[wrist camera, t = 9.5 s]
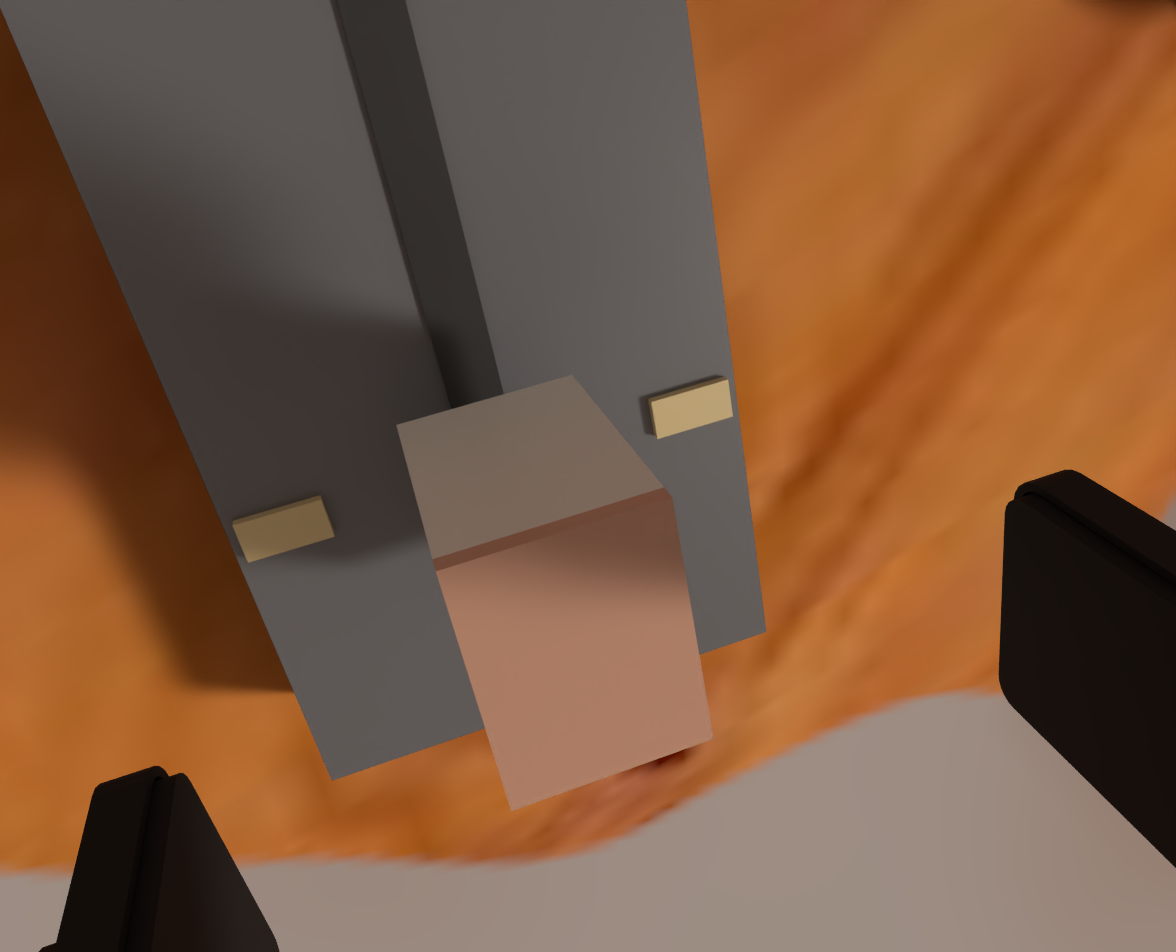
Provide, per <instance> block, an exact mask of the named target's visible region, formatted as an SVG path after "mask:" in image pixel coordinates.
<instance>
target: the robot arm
mask: <svg viewBox="0 0 1176 952" xmlns="http://www.w3.org/2000/svg"><path fill="white" fill-rule="evenodd" d="M999 682H1000V685H1001V689H1002V691H1003V693H1004V695H1005V697H1006V699H1007V700H1008V702H1009V703H1010V704H1011V706H1012V707H1013V708H1014V709H1015V710H1016V711H1017V712H1018V713H1019V714H1020V715H1021V716H1022V717H1023V718H1024V719H1025V720H1026V721H1027V722H1028V723H1029V724H1030V725H1031V726H1032V727H1033V728H1034V729H1035V730H1036V731H1037V732H1038V733H1039V734H1040V735H1041V736H1042V737H1044V739H1045V740H1047V741H1048V742H1049V743H1050V744H1051V745H1052V746H1053V747H1054V748H1055V749H1056V750H1057V751H1058V752H1059V753H1060V754H1061V755H1062V756H1063V757H1064V758H1065V759H1066V760H1067V761H1068V762H1069V763H1070V764H1071V765H1072V766H1073V767H1074V768H1075V769H1076V770H1077V771H1078V772H1079V773H1080V774H1081V775H1082V776H1083V777H1084V778H1085V779H1086V780H1087V781H1088V782H1089V783H1090V784H1091V785H1092V786H1093V787H1094V788H1095V789H1096V790H1097V791H1099V793H1100V794H1101V795H1102V796H1103V797H1104V798H1105V799H1106V800H1107V801H1108V802H1109V803H1111V805H1113V806H1114V807H1115V808H1116V809H1117V810H1118V811H1119V812H1120V813H1121V814H1122V815H1123V816H1124V817H1125V818H1126V819H1127V820H1128V821H1129V822H1130V823H1131V824H1132V825H1133V826H1134V827H1135V828H1136V829H1137V830H1138V831H1139V832H1140V833H1141V834H1142V835H1143V836H1144V837H1145V838H1146V839H1147V840H1148V841H1149V842H1150V843H1151V844H1152V845H1153V846H1154V847H1155V848H1156V849H1157V850H1158V851H1159V852H1160V853H1161V854H1162V855H1163V856H1164V857H1165V858H1166V859H1167V860H1168V861H1169V862H1170V863H1171V864H1172V865H1173V866H1174V867H1175V868H1176V531H1175V530H1174V529H1172V528H1170V527H1169V526H1167V525H1165V524H1164V523H1162V522H1160V521H1159V520H1157V519H1155V518H1154V517H1152V516H1150V515H1149V514H1147V513H1146V512H1144V511H1142V510H1141V509H1139V508H1137V507H1136V506H1134V505H1132V504H1131V503H1129V502H1127V501H1126V500H1124V499H1122V498H1121V497H1119V496H1117V495H1116V494H1114V493H1112V492H1111V491H1109V490H1107V489H1106V488H1104V487H1103V486H1101V485H1099V484H1098V483H1096V482H1094V481H1093V480H1091V479H1089V478H1088V477H1086V476H1084V475H1083V474H1081V473H1079V472H1076V471H1074V470H1063V471H1060V472H1057V473H1054V474H1050V475H1047V476H1044V477H1041V478H1038V479H1035V480H1032V481H1029V482H1026V483H1024V484H1022V485H1020V486H1019V487H1018V489H1017V490H1016V492H1015V496H1014V500H1012V501H1010V502H1009V503H1008V505H1007V506H1006V510H1005V524H1004V550H1003V576H1002V602H1001V629H1000V655H999ZM39 952H279V948H278V945H277V942H276V939H275V937H274V935H273V933H272V931H271V929H270V927H269V925H268V924H267V922H266V920H265V918H264V916H263V914H262V913H261V911H260V909H259V907H258V905H257V903H256V901H255V900H254V898H253V896H252V894H251V892H250V891H249V889H248V887H247V885H246V883H245V881H244V879H243V877H242V876H241V874H240V872H239V870H238V868H237V866H236V865H235V863H234V861H233V859H232V857H231V855H230V853H229V852H228V850H227V848H226V846H225V844H224V842H223V841H222V839H221V837H220V835H219V833H218V831H217V829H216V828H215V826H214V824H213V822H212V820H211V818H210V817H209V815H208V813H207V811H206V809H205V807H204V805H203V804H202V802H201V800H200V798H199V796H198V794H197V793H196V791H195V789H194V787H193V785H192V783H191V782H190V780H189V779H188V777H187V776H186V775H185V774H184V773H179V774H175V775H172V776H168V774H167V773H166V771H165V770H164V769H163V768H161V767H160V766H153V767H150V768H147V769H144V770H141V771H138V772H135V773H132V774H128V775H125V776H122V777H119V778H116V779H113V780H110V781H107V782H104V783H101V784H99V785H98V786H97V787H96V788H95V790H94V793H93V795H92V799H91V803H90V807H89V811H88V815H87V819H86V823H85V827H84V831H83V835H82V839H81V843H80V847H79V852H78V856H77V860H76V864H75V868H74V872H73V876H72V880H71V884H70V888H69V893H68V896H67V901H66V905H65V909H64V913H63V917H62V921H61V925H60V929H59V933H58V937H57V941H56V943H54V944H51V945H48V946H46V947H43V948H42V949H41V950H40V951H39Z"/></svg>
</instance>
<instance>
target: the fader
mask: <svg viewBox="0 0 1176 952" xmlns="http://www.w3.org/2000/svg"><path fill="white" fill-rule="evenodd" d="M396 426H397V430H398V433H399V437H400V441H401V445H402V448H403V452H404V456H405V459H406V463H407V467H408V471H409V474H410V478H411V482H412V485H413V489H414V493H415V497H416V500H417V504H418V508H419V511H420V515H421V519H422V523H423V526H424V530H425V534H426V538H427V541H428V545H429V549H430V552H431V556H432V560H433V564H434V567H435V571H436V574H437V577H438V581H439V584H440V587H441V590H442V593H443V596H444V600H445V603H446V606H447V609H448V612H449V615H450V619H451V622H452V625H453V628H454V631H455V634H456V638H457V641H458V644H459V647H460V650H461V653H462V656H463V660H464V663H465V666H466V669H467V672H468V675H469V679H470V682H471V685H472V688H473V691H474V694H475V698H476V701H477V704H478V707H479V710H480V713H481V717H482V720H483V723H484V726H485V729H486V732H487V736H488V739H489V742H490V745H491V748H492V751H493V755H494V758H495V761H496V764H497V767H498V770H499V774H500V777H501V780H502V783H503V786H504V789H505V793H506V796H507V799H508V802H509V805H510V808H511V811H513V810H516V809H519V808H522V807H525V806H527V805H530V804H533V803H536V802H539V801H541V800H544V799H547V798H550V797H552V796H555V795H558V794H561V793H564V792H566V791H569V790H572V789H575V788H578V787H580V786H583V785H586V784H589V783H591V782H594V781H597V780H600V779H603V778H605V777H608V776H611V775H614V774H617V773H619V772H622V771H625V770H628V769H630V768H633V767H636V766H639V765H642V764H644V763H647V762H650V761H653V760H656V759H658V758H661V757H664V756H667V755H670V754H672V753H675V752H678V751H681V750H683V749H686V748H689V747H692V746H695V745H697V744H700V743H703V742H706V741H709V740H711V739H713V733H712V727H711V721H710V715H709V709H708V703H707V697H706V692H705V686H704V680H703V674H702V668H701V662H700V656H699V650H698V644H697V639H696V633H695V627H694V621H693V615H692V609H691V603H690V597H689V592H688V586H687V580H686V574H685V568H684V562H683V556H682V550H681V545H680V539H679V533H678V527H677V521H676V515H675V509H674V503H673V498H672V496H671V495H670V494H669V493H668V491H667V490H666V489H665V488H664V486H663V485H662V484H661V483H660V482H659V480H658V479H657V478H656V477H655V475H654V474H653V473H652V472H651V470H650V469H649V468H648V467H647V466H646V464H645V463H644V462H643V461H642V459H641V458H640V457H639V456H638V455H637V453H636V452H635V451H634V450H633V448H632V447H631V446H630V445H629V444H628V442H627V441H626V440H625V439H624V437H623V436H622V435H621V434H620V433H619V431H618V430H617V429H616V428H615V426H614V425H613V424H612V423H611V422H610V420H609V419H608V418H607V417H606V415H605V414H604V413H603V412H602V411H601V409H600V408H599V407H598V406H597V404H596V403H595V402H594V401H593V400H592V398H591V397H590V396H589V395H588V393H587V392H586V391H585V390H584V389H583V387H582V386H581V385H580V384H579V382H578V381H577V380H576V379H575V378H574V376H573V375H569V376H566V377H562V378H559V379H555V380H552V381H548V382H545V383H541V384H538V385H534V386H531V387H527V388H524V389H520V390H517V391H513V392H510V393H506V394H503V395H499V396H496V397H492V398H489V399H485V400H482V401H478V402H475V403H471V404H468V405H464V406H461V407H457V408H454V409H450V410H447V411H444V412H440V413H437V414H433V415H430V416H426V417H423V418H419V419H416V420H412V421H409V422H405V423H402V424H398V425H396Z"/></svg>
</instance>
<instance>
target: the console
mask: <svg viewBox="0 0 1176 952" xmlns="http://www.w3.org/2000/svg"><path fill="white" fill-rule="evenodd" d="M0 8H1V11H2V13H3V15H4V18H5V20H6V22H7V25H8V27H9V29H10V32H11V34H12V36H13V39H14V41H15V43H16V46H17V48H18V50H19V53H20V55H21V57H22V60H23V62H24V64H25V67H26V69H27V71H28V74H29V76H30V78H31V81H32V83H33V85H34V88H35V90H36V92H37V95H38V97H39V99H40V102H41V104H42V106H43V109H44V111H45V113H46V116H47V118H48V120H49V123H50V125H51V127H52V130H53V132H54V134H55V137H56V139H57V141H58V144H59V146H60V148H61V151H62V153H63V155H64V158H65V160H66V162H67V165H68V167H69V169H70V172H71V174H72V176H73V179H74V181H75V183H76V186H77V188H78V190H79V193H80V195H81V197H82V199H83V202H84V204H85V206H86V209H87V211H88V213H89V216H90V218H91V220H92V223H93V225H94V227H95V230H96V232H97V234H98V237H99V239H100V241H101V244H102V246H103V248H104V251H105V253H106V255H107V258H108V260H109V262H110V265H111V267H112V269H113V272H114V274H115V276H116V279H117V281H118V283H119V286H120V288H121V290H122V293H123V295H124V297H125V300H126V302H127V304H128V307H129V309H130V311H131V314H132V316H133V318H134V321H135V323H136V325H137V328H138V330H139V332H140V335H141V337H142V339H143V342H144V344H145V346H146V349H147V351H148V353H149V356H150V358H151V360H152V363H153V365H154V367H155V370H156V372H157V374H158V377H159V379H160V381H161V384H162V386H163V388H164V391H165V393H166V395H167V397H168V400H169V402H170V404H171V407H172V409H173V411H174V414H175V416H176V418H177V421H178V423H179V425H180V428H181V430H182V432H183V435H184V437H185V439H186V442H187V444H188V446H189V449H190V451H191V453H192V456H193V458H194V460H195V463H196V465H197V467H198V470H199V472H200V474H201V477H202V479H203V481H204V484H205V486H206V488H207V491H208V493H209V495H210V498H211V500H212V502H213V505H214V507H215V509H216V512H217V514H218V516H219V519H220V521H221V523H222V526H223V528H224V530H225V533H226V535H227V537H228V540H229V542H230V544H231V547H232V549H233V551H234V554H235V556H236V558H237V561H238V563H239V565H240V568H241V570H242V572H243V575H244V577H245V579H246V582H247V584H248V586H249V588H250V591H251V593H252V595H253V598H254V600H255V602H256V605H257V607H258V609H259V612H260V614H261V616H262V619H263V621H264V623H265V626H266V628H267V630H268V633H269V635H270V637H271V640H272V642H273V644H274V647H275V649H276V651H277V654H278V656H279V658H280V661H281V663H282V665H283V668H284V670H285V672H286V675H287V677H288V679H289V682H290V684H291V686H292V689H293V691H294V693H295V696H296V698H297V700H298V703H299V705H300V707H301V710H302V712H303V714H304V717H305V719H306V721H307V724H308V726H309V728H310V731H311V733H312V735H313V738H314V740H315V742H316V745H317V747H318V749H319V752H320V754H321V756H322V759H323V761H324V763H325V766H326V768H327V770H328V773H329V775H330V777H331V780H335V779H338V778H341V777H344V776H347V775H350V774H353V773H356V772H358V771H361V770H364V769H367V768H370V767H373V766H376V765H379V764H382V763H385V762H388V761H391V760H393V759H396V758H399V757H402V756H405V755H408V754H411V753H414V752H417V751H420V750H423V749H426V748H428V747H431V746H434V745H437V744H440V743H443V742H446V741H449V740H452V739H455V738H458V737H461V736H463V735H466V734H469V733H472V732H475V731H478V730H481V729H484V728H485V726H484V723H483V720H482V717H481V713H480V710H479V707H478V704H477V701H476V698H475V694H474V691H473V688H472V685H471V682H470V679H469V675H468V672H467V669H466V666H465V663H464V660H463V656H462V653H461V650H460V647H459V644H458V641H457V638H456V634H455V631H454V628H453V625H452V622H451V619H450V615H449V612H448V609H447V606H446V603H445V600H444V596H443V593H442V590H441V587H440V584H439V581H438V577H437V574H436V571H435V567H434V564H433V560H432V556H431V552H430V549H429V545H428V541H427V538H426V534H425V530H424V526H423V523H422V519H421V515H420V511H419V508H418V504H417V500H416V497H415V493H414V489H413V485H412V482H411V478H410V474H409V471H408V467H407V463H406V459H405V456H404V452H403V448H402V445H401V441H400V437H399V433H398V430H397V426H396V425H398V424H402V423H405V422H409V421H412V420H416V419H419V418H423V417H426V416H430V415H433V414H437V413H440V412H444V411H447V410H450V409H454V408H457V407H461V406H464V405H468V404H471V403H475V402H478V401H482V400H485V399H489V398H492V397H496V396H499V395H503V394H506V393H510V392H513V391H517V390H520V389H524V388H527V387H531V386H534V385H538V384H541V383H545V382H548V381H552V380H555V379H559V378H562V377H566V376H569V375H573V376H574V378H575V379H576V380H577V381H578V382H579V384H580V385H581V386H582V387H583V389H584V390H585V391H586V392H587V393H588V395H589V396H590V397H591V398H592V400H593V401H594V402H595V403H596V404H597V406H598V407H599V408H600V409H601V411H602V412H603V413H604V414H605V415H606V417H607V418H608V419H609V420H610V422H611V423H612V424H613V425H614V426H615V428H616V429H617V430H618V431H619V433H620V434H621V435H622V436H623V437H624V439H625V440H626V441H627V442H628V444H629V445H630V446H631V447H632V448H633V450H634V451H635V452H636V453H637V455H638V456H639V457H640V458H641V459H642V461H643V462H644V463H645V464H646V466H647V467H648V468H649V469H650V470H651V472H652V473H653V474H654V475H655V477H656V478H657V479H658V480H659V482H660V483H661V484H662V485H663V486H664V488H665V489H666V490H667V491H668V493H669V494H670V495H671V496H672V498H673V503H674V509H675V515H676V521H677V527H678V533H679V539H680V545H681V550H682V556H683V562H684V568H685V574H686V580H687V586H688V592H689V597H690V603H691V609H692V615H693V621H694V627H695V633H696V639H697V644H698V650H699V655H700V654H703V653H706V652H708V651H711V650H714V649H717V648H720V647H723V646H726V645H729V644H732V643H735V642H738V641H741V640H743V639H746V638H749V637H752V636H755V635H758V634H761V633H764V632H766V626H765V618H764V610H763V602H762V594H761V586H760V579H759V571H758V563H757V555H756V547H755V539H754V531H753V523H752V516H751V508H750V500H749V492H748V484H747V476H746V468H745V461H744V453H743V445H742V437H741V429H740V421H739V413H738V405H737V398H736V390H735V382H734V374H733V366H732V358H731V350H730V343H729V335H728V327H727V319H726V311H725V303H724V295H723V287H722V280H721V272H720V264H719V256H718V248H717V240H716V232H715V225H714V217H713V209H712V201H711V193H710V185H709V177H708V169H707V162H706V154H705V146H704V138H703V130H702V122H701V114H700V107H699V99H698V91H697V83H696V75H695V67H694V59H693V51H692V44H691V36H690V28H689V20H688V12H687V4H686V0H0Z"/></svg>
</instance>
